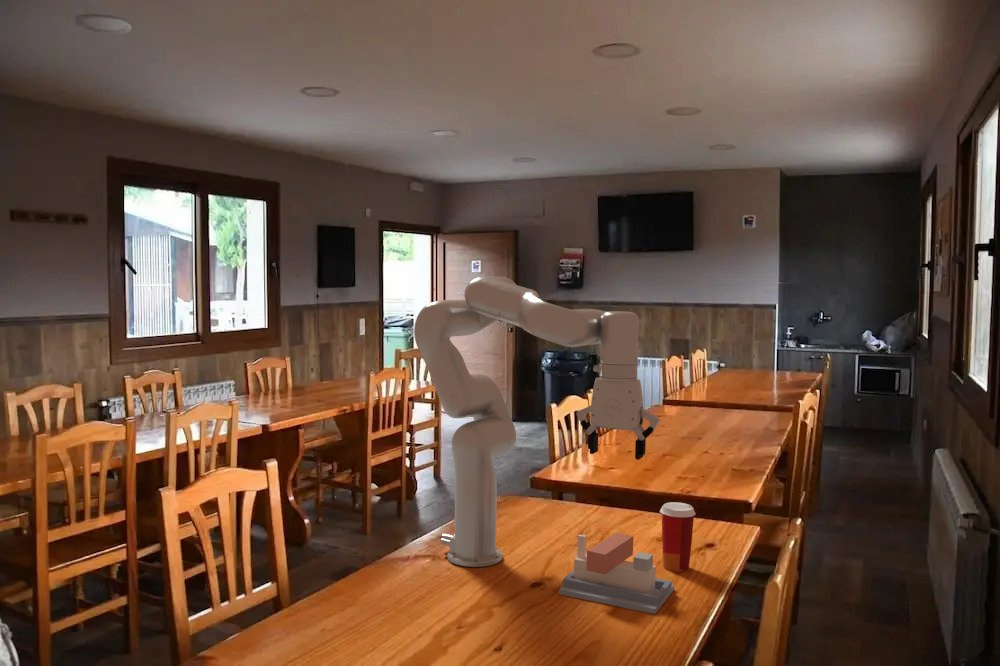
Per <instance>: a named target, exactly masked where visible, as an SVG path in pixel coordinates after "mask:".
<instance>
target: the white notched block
mask: <svg viewBox="0 0 1000 666" xmlns="http://www.w3.org/2000/svg"><path fill="white" fill-rule="evenodd" d="M632 559H633V561H628V560H625V561H623V562H622V563H620V564H619V565H617V566H616V567H615V568H613V569H612V570H610V571H609V572H607V573H606V574H601V573H596V572H592V571H588V570H586V566H587V535H584V534H579V535H577V556H576V557H575V558H574V560H573V562H574V563H573V570H574V578H575V579H580V580H585V581H590V582H595V583H600V584H606V585H611V586H616V587H621V588H626V589H631V590H636V591H641V592H646V593H651V594H652V593H653V592H654V591H655V578H656V573H657V572H656V570H657V569H656V568H657V567H656V565H653V564H654V554H652V553H646V552H640V551H639V552H637V553H636V554H635V555H634V556H633V558H632Z"/></svg>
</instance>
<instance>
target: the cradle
mask: <svg viewBox="0 0 1000 666" xmlns="http://www.w3.org/2000/svg"><path fill="white" fill-rule="evenodd" d="M674 590H675V585H674V584H673V582H672V580H668V579H667V580H666V579H662V578H658V577H657V578H656V577H655V591H654V592H653V593H652V594H651V593H646V592H641V591H636V590H631V589H626V588H621V587H616V586H611V585H606V584H600V583H595V582H590V581H585V580H580V579H575V578H574V569H573V570H572V571H571V572H569V573H568V574H567V575H566V576H565V577H563V578H562V586H561V587H560V588H559V589H558V595H561V596H566V597H571V598H576V599H581V600H585V601H590V602H594V603H600V604H604V605H610V606H614V607H620V608H624V609H628V610H633V611H638V612H642V613H648V614H652V615H656V614H657V612H658V611H659V610H660V608H661V607H662V606H663V605H664V603H665V602H666V601H667V599H668V598H669V597H670V596H671V594H672V593H673V592H674Z"/></svg>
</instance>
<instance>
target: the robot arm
mask: <svg viewBox="0 0 1000 666" xmlns="http://www.w3.org/2000/svg"><path fill="white" fill-rule="evenodd" d="M463 296H464V299H443V300H436V301H432V302H429V303H428V304H426V305H425V306H424V307H422V308H421V310H420V311H419V313H418V315H417V316H416V318H415V322H414V328H413V334H414V340H415V344H416V347H417V349H418V352H419V353H420V355H421V358H422V359H423V362H424V364H425V365H426V367H427V370H428V373H429V376H430V378H431V382H432V383H433V386H434V389H435V391H436V394H437V397H438V399H439V401H440V404H441V407H442V409H443V411H444V412H445V414H446V415H447V416H449V417H450V418H452V419H464V418H469V417H472V418H473V420H472V421H468V422H465V423H464V424H462V425H461V426H458V428H457V429H456V430H455V432H454V434H453V436H452V438H451V454H452V459H453V464H454V535H453V534H452V535H451V534H449V533H442V535H441V536H440V537H441V538H440V545H442V546H449V550H448V551H447V560H448V561H449V562H450V563H452V564H455V565H457V566H462V567H468V568H480V567H481V568H484V567H489V566H493V565H497V564H498V563H500V562H501V561H503V552H502V551H501V550H500V549H499V548H497V509H498V507H497V501H498V496H497V495H498V490H497V489H498V484H497V482H498V481H497V473H496V471H495V468H494V464H493V460H494V459H496V458H500V457H502V456H505V455H508V453H510V452H511V451H512V450H513V449H514V447H515V445H516V442H517V431H516V427H515V425H514V421H513V419H512V417H511V414H510V412H509V410H508V407H507V404H506V403H505V400H504V397H503V395H502V392H501V390H500V388H499V386H498V385H497V383H496V382H495V381H494V380H493V379H492V378H491V377H489V376H488V375H486V374H481V373H474V374H471V373H470V371H469V369H468V367H467V365H466V363H465V360H464V358H463V355H462V353H461V351H460V350H459V349H458V347H456V345H454V344H453V342H452V341H451V338H453V337H462V336H463V337H464V336H472V335H474V334H476V333H480V332H481V331H482V330H484V329H485V328H487V327H489V326H490V325H492V324H494V323H495V322H497V321H501V322H504V323H506V324H509V325H512V326H516V327H519V328H521V329H523V331H525V332H527V333H529V334H530V335H533V336H535V337H536V338H540V339H542V340H545V341H548V342H551V343H554V344H556V345H560V346H564V347H568V348H569V347H571V348H577V347H582V346H584V347H585V346H592V345H600V346H599V347H600V348H599V349H600V352H599V354H600V356H599V360H600V361H599V363H598V364H597V365H596V364H594V365H593V368H592V370H593V372H597V373H598V376H599V377H596V378H595V380H594V384H593V387H592V394H591V402H590V405H589V406H587V407H585V408H582V409H580V410H577V411H576V416H577V419H578V421H579V423H580V426H581V427H582V428H583V430H584V431H585V433H586V435H587V436H588V437H587V449H588V450H589V454H590V455H594V454H596V453H598V451H599V433H598V432H597V430H599V428H601V429H608V430H609V429H611V430H620V431H633V433H634V434H635V436H636V437H637V438H636V440H635V445H634V446H635V449H634V454H635V455H634V459H635V460H636V461H637V460H639V461H640V460H641V459H642V458H644V456H645V455H646V447H647V446H646V441H647V438H648V437H649V436H651V434H653V433H654V432H655V431H656V428H657V426H658V425H659V423H660V418H659V417H658V416H657V415H654V414H653V413H651V412H650V411H648V410H646V409H645V408H644V400H643V399H644V398H643V390H642V384H641V379H638V359H639V356H638V355H639V329H640V328H639V327H640V326H639V325H640V323H639V316H638V315H637V314H636V313H635V312H633V311H624V310H623V311H621V310H618V311H617V310H614V311H612V310H611V311H606V310H600V309H596V308H595V309H594V308H579V309H578V308H577V309H569V308H568V307H567V308H566V307H563V306H560V305H556V304H552V303H550V302H547V301H545V300H542V299H541V298H540V295H539V292H537V291H536V290H534V289H531V288H527V287H524V286H520V285H517V284H516V282H515V281H513V280H512V279H510V277H509V278H508V277H505V276H496V275H495V276H492V275H491V276H489V275H488V276H487V275H483V276H477V277H476V278H473V279H472V280H470V281H469V282H468V283H467V284H466V287H465V290H464V295H463ZM587 414H589V416H590V417H589V420H588V419H587ZM644 419H645V420H647V421H648V422H649V425H648V427H647V428H646V429H645V427H643V424H644Z"/></svg>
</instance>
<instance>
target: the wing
mask: <svg viewBox="0 0 1000 666" xmlns="http://www.w3.org/2000/svg"><path fill="white" fill-rule="evenodd" d="M586 554H587V566H586V570H588V571H592V572H596V573H601V574H606V573H607V572H609V571H610V570H612V569H613V568H615V567H616V566H617V565H619V564H620V563H622V562H623V561H627V559H629V558H630V557H631V556H633V555H634V535H628V534H626V533H625V534H624V533H619V532H615V533H613V534H611V535H610V536H608V537H607V538H605V539H604V540H602V541H601V542H599V543H597V544H595V545H594V546H592V547H591V548H589V549H586Z"/></svg>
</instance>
